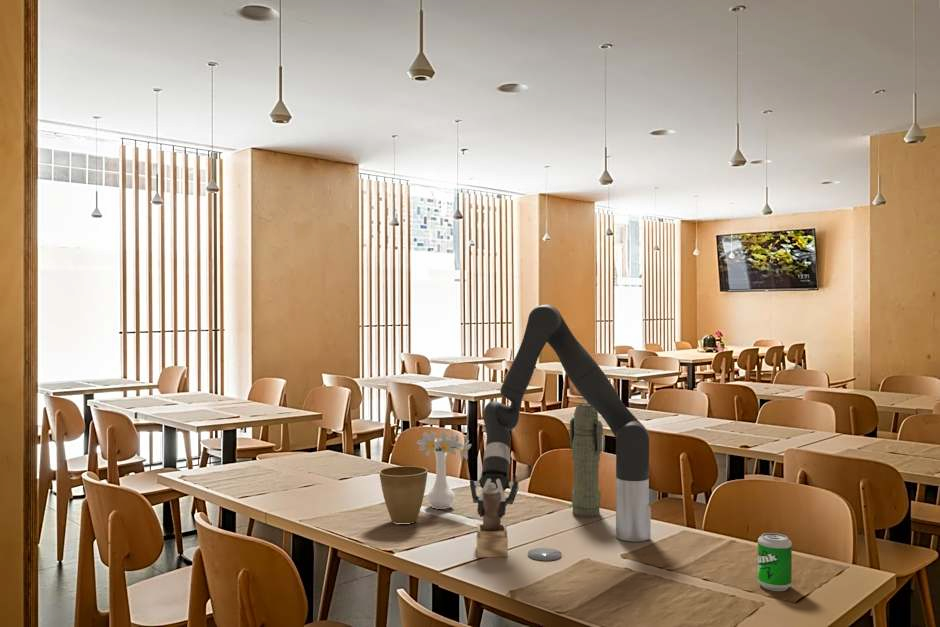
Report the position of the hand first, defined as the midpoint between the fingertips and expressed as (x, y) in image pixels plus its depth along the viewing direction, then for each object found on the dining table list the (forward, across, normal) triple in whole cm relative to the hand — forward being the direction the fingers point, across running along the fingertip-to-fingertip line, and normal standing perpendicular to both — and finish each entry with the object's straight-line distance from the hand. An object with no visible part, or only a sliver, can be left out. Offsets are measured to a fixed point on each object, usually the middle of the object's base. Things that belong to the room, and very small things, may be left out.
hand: (491, 515), depth 212 cm
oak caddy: (+6, 0, +9) cm, 10 cm away
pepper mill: (+2, 0, +5) cm, 6 cm away
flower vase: (-25, -22, +40) cm, 52 cm away
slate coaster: (+7, +14, +8) cm, 18 cm away
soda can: (+18, +70, -3) cm, 72 cm away
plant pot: (-12, -31, +26) cm, 42 cm away
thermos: (-24, +25, +39) cm, 52 cm away
